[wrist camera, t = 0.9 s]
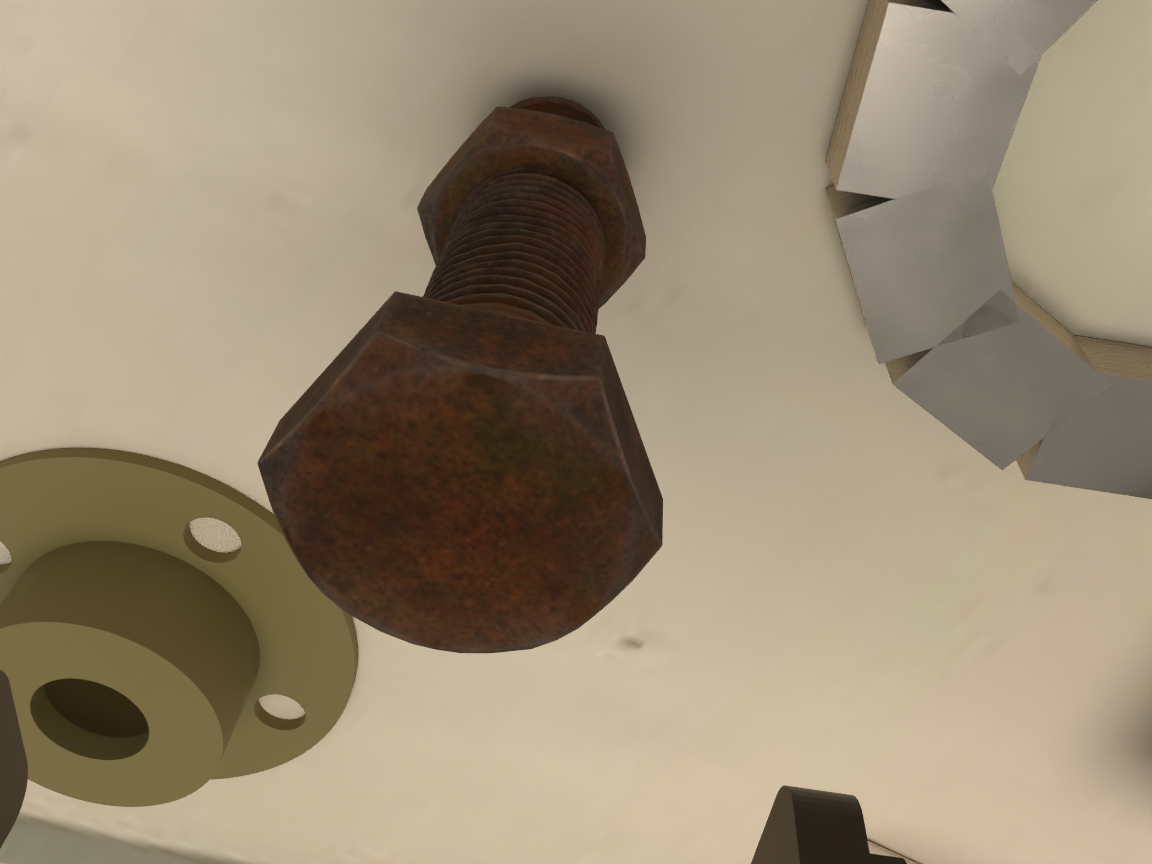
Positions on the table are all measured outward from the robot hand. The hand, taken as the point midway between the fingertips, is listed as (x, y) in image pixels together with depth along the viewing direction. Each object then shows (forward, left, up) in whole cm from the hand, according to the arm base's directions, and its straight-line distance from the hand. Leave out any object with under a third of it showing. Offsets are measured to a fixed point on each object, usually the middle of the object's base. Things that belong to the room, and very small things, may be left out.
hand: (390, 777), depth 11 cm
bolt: (0, 0, -20) cm, 20 cm away
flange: (+12, +19, -20) cm, 30 cm away
